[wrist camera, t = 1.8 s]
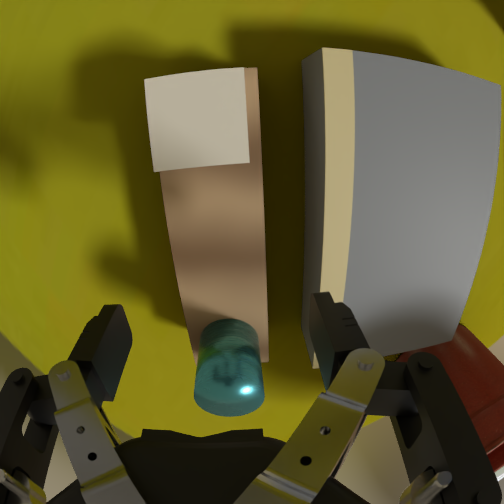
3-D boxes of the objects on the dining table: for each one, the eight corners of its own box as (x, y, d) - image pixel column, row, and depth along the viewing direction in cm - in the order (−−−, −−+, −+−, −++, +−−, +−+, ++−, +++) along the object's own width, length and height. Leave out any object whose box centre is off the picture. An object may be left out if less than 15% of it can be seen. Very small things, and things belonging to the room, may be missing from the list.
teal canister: (195, 320, 21) (187, 377, 16) (257, 316, 21) (263, 373, 16) (204, 362, 23) (200, 417, 18) (259, 359, 23) (265, 414, 18)
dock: (301, 60, 17) (322, 47, 13) (458, 83, 17) (501, 85, 13) (301, 326, 27) (312, 368, 22) (427, 308, 27) (452, 341, 22)
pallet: (166, 83, 17) (150, 78, 14) (252, 75, 18) (257, 67, 14) (200, 332, 26) (196, 365, 23) (264, 328, 27) (268, 361, 23)
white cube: (165, 84, 14) (144, 79, 11) (241, 76, 14) (244, 67, 11) (172, 156, 16) (154, 172, 12) (246, 149, 16) (249, 162, 12)
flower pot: (492, 284, 27) (578, 380, 12) (472, 373, 34) (521, 455, 19) (364, 341, 28) (425, 486, 14) (371, 419, 35) (405, 519, 21)
